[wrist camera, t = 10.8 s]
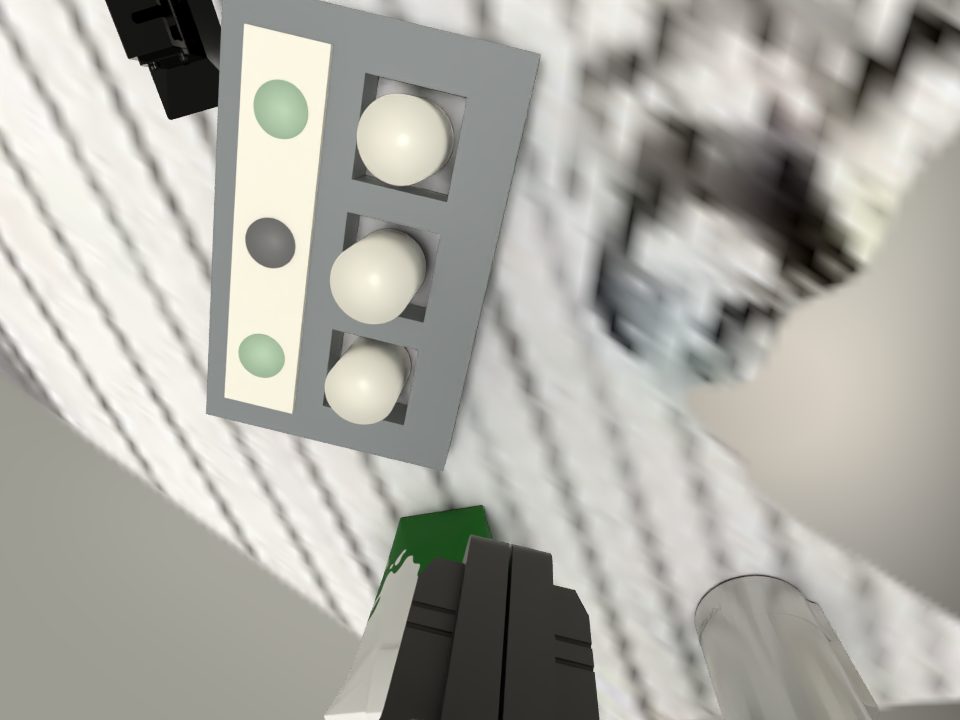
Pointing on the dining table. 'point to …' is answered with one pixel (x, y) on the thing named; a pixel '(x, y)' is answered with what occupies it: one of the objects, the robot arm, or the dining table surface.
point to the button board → (379, 216)
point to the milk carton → (401, 604)
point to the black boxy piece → (174, 49)
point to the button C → (404, 138)
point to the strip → (274, 212)
